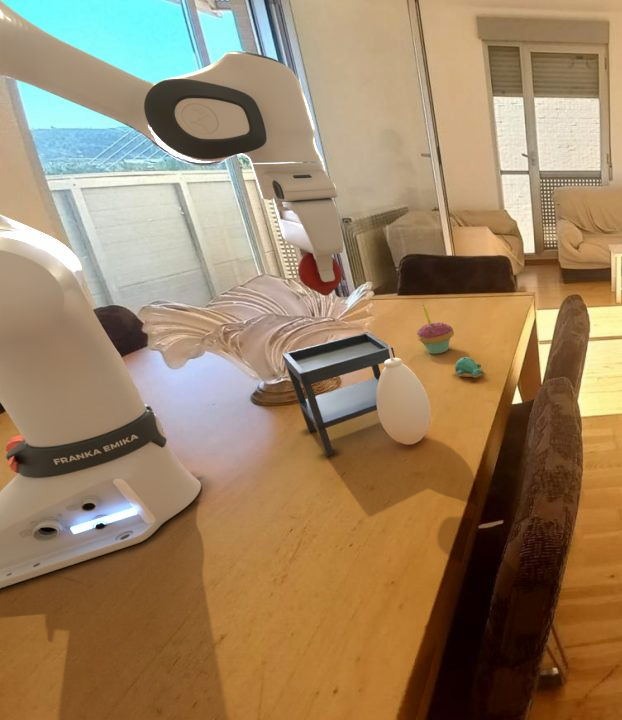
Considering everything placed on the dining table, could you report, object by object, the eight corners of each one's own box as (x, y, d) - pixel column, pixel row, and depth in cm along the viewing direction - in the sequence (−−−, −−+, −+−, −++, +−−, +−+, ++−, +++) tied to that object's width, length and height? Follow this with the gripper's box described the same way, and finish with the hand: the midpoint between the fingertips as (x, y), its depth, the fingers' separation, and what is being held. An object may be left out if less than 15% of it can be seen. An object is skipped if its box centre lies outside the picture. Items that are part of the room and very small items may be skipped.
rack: (327, 456, 78) (299, 373, 72) (308, 430, 86) (281, 353, 80) (411, 423, 87) (392, 347, 81) (386, 402, 95) (368, 331, 89)
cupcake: (413, 355, 118) (403, 308, 113) (435, 342, 125) (426, 299, 120) (443, 358, 115) (433, 311, 111) (463, 345, 123) (455, 300, 118)
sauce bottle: (416, 425, 87) (395, 333, 79) (445, 436, 83) (425, 340, 76) (378, 446, 80) (350, 349, 73) (407, 459, 77) (381, 358, 70)
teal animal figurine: (473, 366, 110) (470, 351, 109) (491, 375, 106) (488, 359, 104) (450, 375, 106) (447, 359, 105) (468, 384, 102) (465, 368, 100)
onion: (338, 288, 80) (325, 240, 77) (353, 293, 76) (339, 243, 73) (300, 296, 76) (284, 246, 73) (314, 302, 72) (298, 249, 69)
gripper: (255, 184, 74) (283, 271, 80) (285, 187, 61) (316, 292, 66) (301, 182, 78) (324, 265, 84) (339, 184, 65) (364, 283, 70)
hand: (321, 277), depth 75 cm, fingers closed on onion, 6 cm apart
